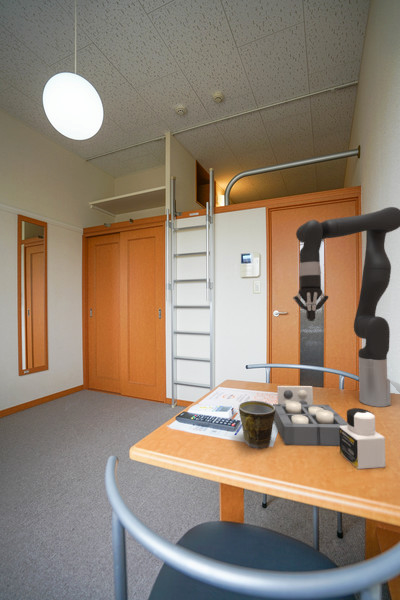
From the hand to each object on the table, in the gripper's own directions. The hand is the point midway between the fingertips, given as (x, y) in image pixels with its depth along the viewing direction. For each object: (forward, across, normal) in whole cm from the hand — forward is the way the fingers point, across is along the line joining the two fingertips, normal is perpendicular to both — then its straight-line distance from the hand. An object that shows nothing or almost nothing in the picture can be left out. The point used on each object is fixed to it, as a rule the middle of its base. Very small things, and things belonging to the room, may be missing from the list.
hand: (310, 320), depth 104 cm
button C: (+28, +12, +17) cm, 35 cm away
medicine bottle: (+32, 0, +36) cm, 48 cm away
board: (+32, +8, +21) cm, 39 cm away
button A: (+30, +5, +17) cm, 35 cm away
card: (+32, +8, +6) cm, 34 cm away
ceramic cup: (+32, +25, +30) cm, 51 cm away
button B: (+28, +4, +25) cm, 37 cm away
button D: (+30, +12, +25) cm, 40 cm away
